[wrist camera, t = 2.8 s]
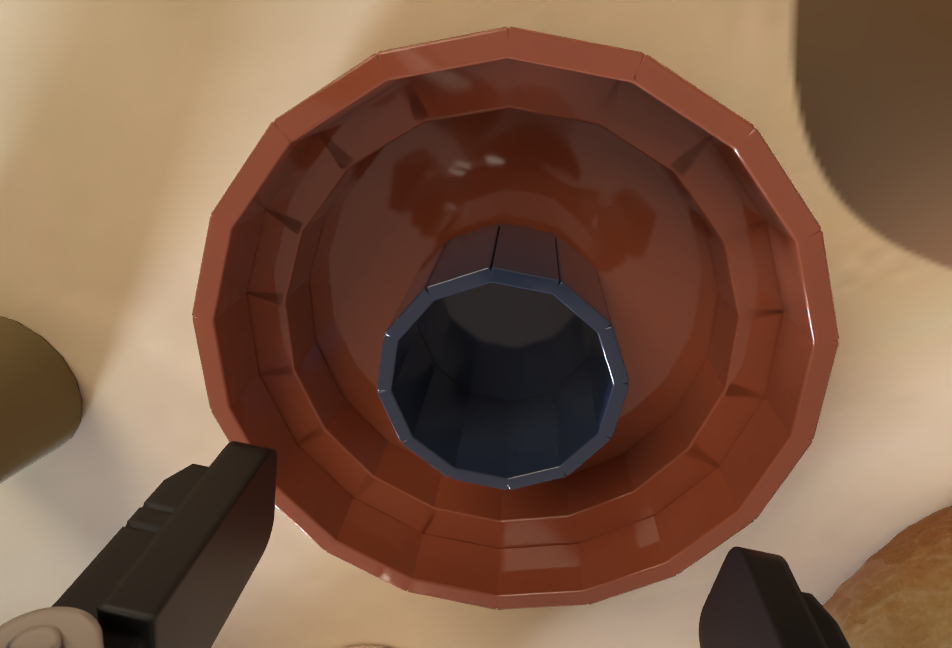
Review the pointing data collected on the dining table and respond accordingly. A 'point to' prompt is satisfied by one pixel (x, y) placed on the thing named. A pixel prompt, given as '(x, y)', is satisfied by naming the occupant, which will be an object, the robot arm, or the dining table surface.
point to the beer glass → (367, 646)
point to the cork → (33, 399)
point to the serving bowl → (587, 232)
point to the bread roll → (901, 591)
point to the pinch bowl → (503, 360)
